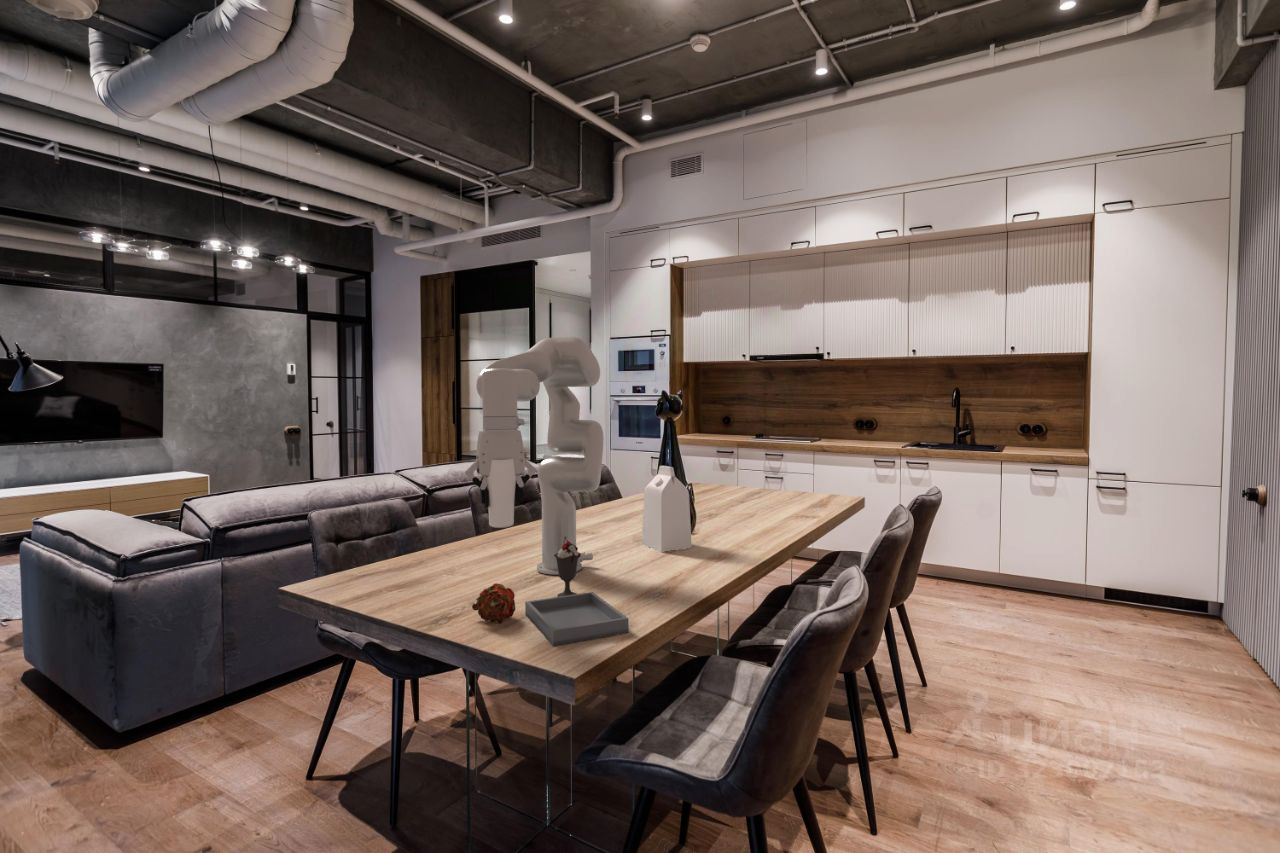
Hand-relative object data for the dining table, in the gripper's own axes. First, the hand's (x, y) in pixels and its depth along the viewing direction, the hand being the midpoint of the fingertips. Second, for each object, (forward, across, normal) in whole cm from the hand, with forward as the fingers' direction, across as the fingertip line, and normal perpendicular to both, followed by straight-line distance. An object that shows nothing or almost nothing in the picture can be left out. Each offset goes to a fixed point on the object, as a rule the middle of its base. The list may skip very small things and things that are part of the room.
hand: (501, 504), depth 142 cm
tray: (+25, -13, +13) cm, 30 cm away
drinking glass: (+5, 0, 0) cm, 5 cm away
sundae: (+25, -17, -7) cm, 31 cm away
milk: (+25, -62, -43) cm, 79 cm away
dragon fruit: (+25, +2, +3) cm, 25 cm away
